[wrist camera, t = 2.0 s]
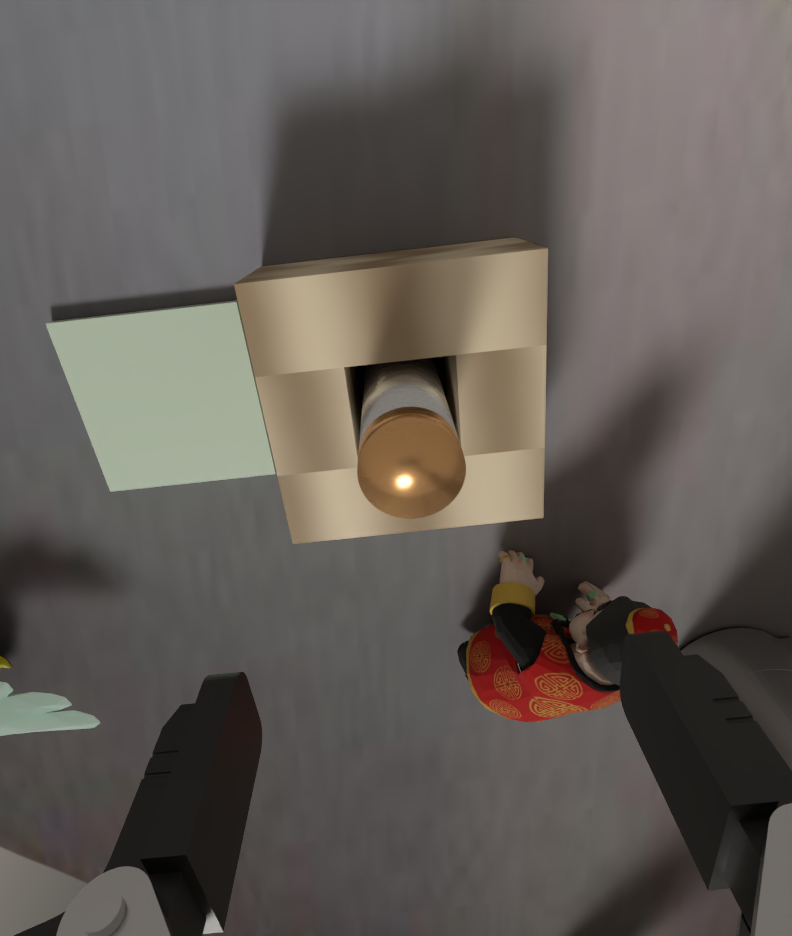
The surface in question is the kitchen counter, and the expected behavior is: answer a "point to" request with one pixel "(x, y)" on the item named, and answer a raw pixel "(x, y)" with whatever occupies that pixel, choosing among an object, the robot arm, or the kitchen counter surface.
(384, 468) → the copper capped cylinder
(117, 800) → the kitchen counter surface
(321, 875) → the kitchen counter surface
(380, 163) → the kitchen counter surface
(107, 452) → the pad
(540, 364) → the bore block
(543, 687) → the figurine
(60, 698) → the toy
